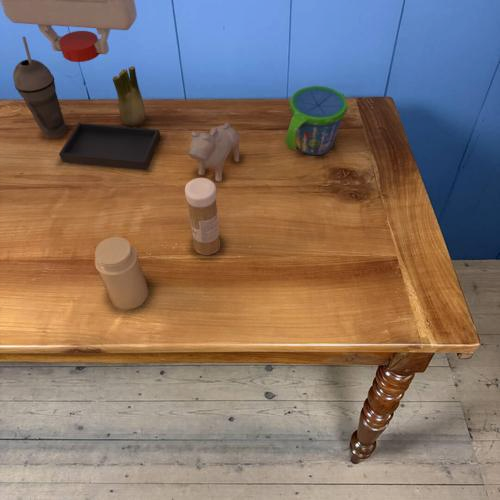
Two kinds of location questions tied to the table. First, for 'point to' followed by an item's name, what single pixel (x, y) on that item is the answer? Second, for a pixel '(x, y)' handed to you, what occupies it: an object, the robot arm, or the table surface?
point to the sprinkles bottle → (203, 215)
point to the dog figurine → (214, 148)
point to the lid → (79, 46)
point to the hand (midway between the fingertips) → (82, 51)
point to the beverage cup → (39, 95)
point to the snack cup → (315, 119)
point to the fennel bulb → (129, 98)
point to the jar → (121, 273)
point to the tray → (111, 146)
